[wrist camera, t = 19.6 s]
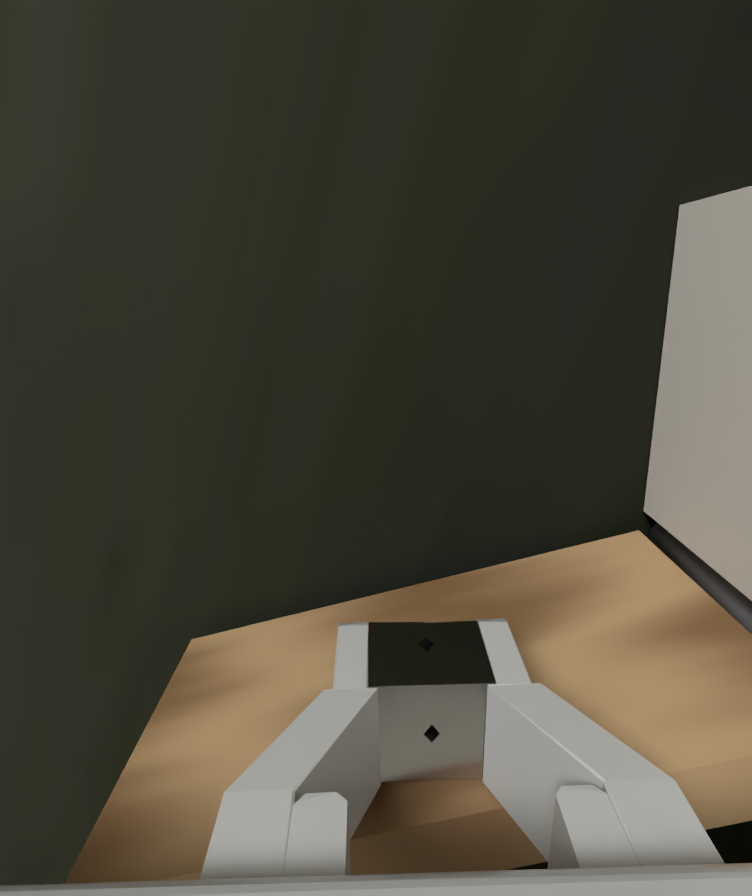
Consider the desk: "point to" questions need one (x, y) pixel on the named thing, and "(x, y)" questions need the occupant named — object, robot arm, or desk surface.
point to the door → (449, 800)
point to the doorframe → (707, 405)
